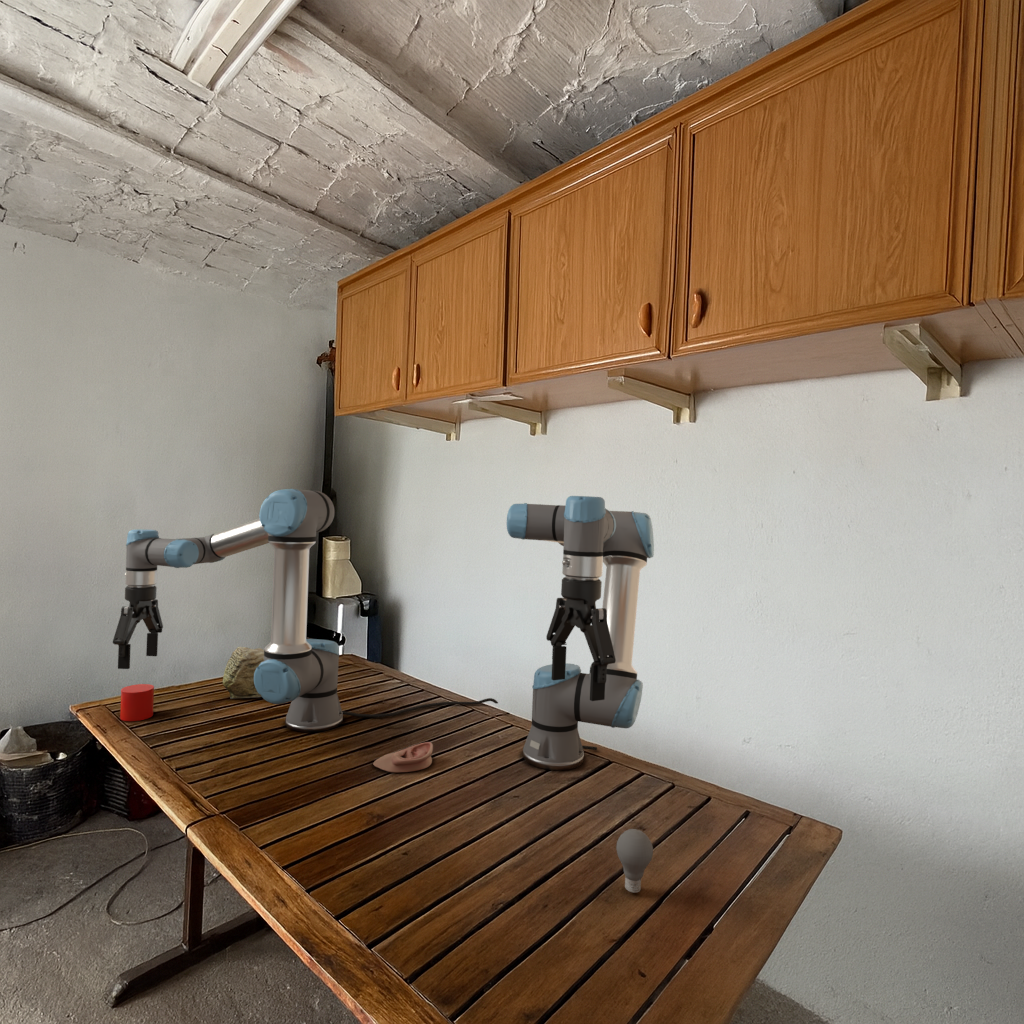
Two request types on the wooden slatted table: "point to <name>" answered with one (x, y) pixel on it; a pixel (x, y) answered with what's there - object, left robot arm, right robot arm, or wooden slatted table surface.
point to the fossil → (242, 672)
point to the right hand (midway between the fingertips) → (576, 689)
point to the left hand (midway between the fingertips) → (138, 662)
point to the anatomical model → (407, 759)
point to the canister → (137, 702)
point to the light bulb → (634, 857)
